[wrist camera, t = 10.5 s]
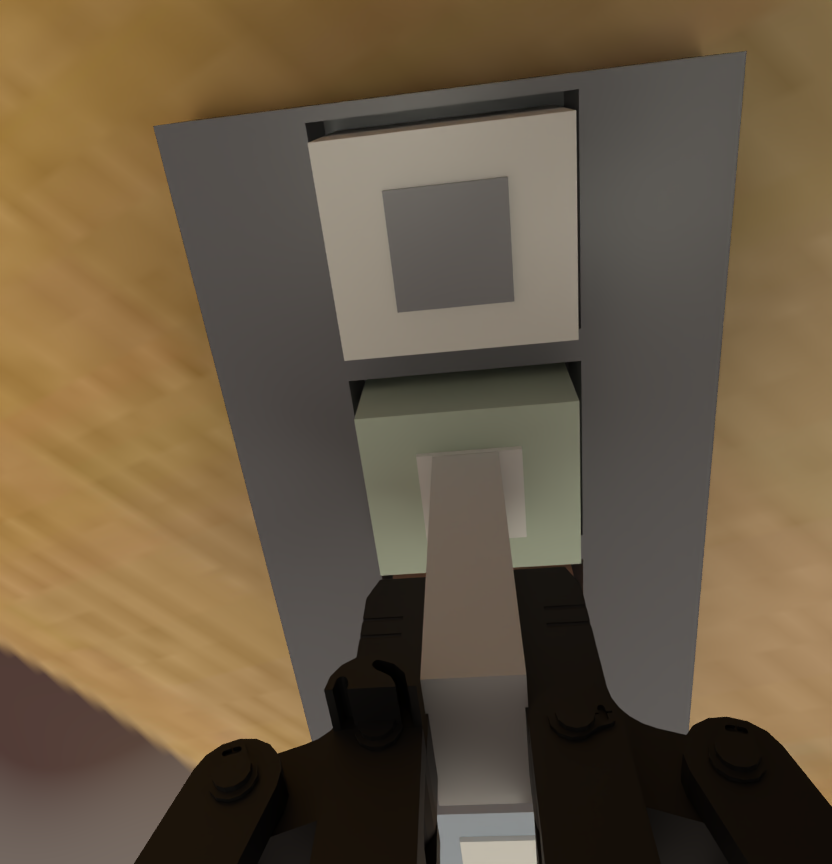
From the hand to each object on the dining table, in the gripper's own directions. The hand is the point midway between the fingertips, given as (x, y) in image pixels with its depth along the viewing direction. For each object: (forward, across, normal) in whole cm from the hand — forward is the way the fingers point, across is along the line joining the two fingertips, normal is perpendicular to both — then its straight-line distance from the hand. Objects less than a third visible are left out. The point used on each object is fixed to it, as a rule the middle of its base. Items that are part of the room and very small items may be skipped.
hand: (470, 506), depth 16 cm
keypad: (+5, 0, -3) cm, 5 cm away
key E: (+4, 0, +6) cm, 7 cm away
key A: (+4, 0, 0) cm, 4 cm away
